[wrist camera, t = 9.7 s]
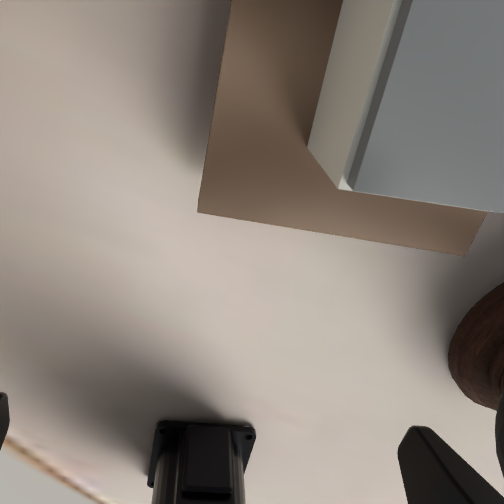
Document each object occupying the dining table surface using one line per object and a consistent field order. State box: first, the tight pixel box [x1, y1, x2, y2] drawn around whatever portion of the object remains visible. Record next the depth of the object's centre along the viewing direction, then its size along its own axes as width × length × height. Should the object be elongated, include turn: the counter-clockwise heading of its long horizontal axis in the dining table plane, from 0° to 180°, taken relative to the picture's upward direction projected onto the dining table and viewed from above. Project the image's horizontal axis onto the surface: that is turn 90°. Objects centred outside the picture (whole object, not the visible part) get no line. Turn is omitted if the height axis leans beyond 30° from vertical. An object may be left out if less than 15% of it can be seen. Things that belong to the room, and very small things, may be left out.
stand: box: [197, 0, 488, 256], centre depth 15 cm, size 16×12×3 cm
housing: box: [307, 0, 504, 213], centre depth 12 cm, size 9×5×5 cm, turn 170°
